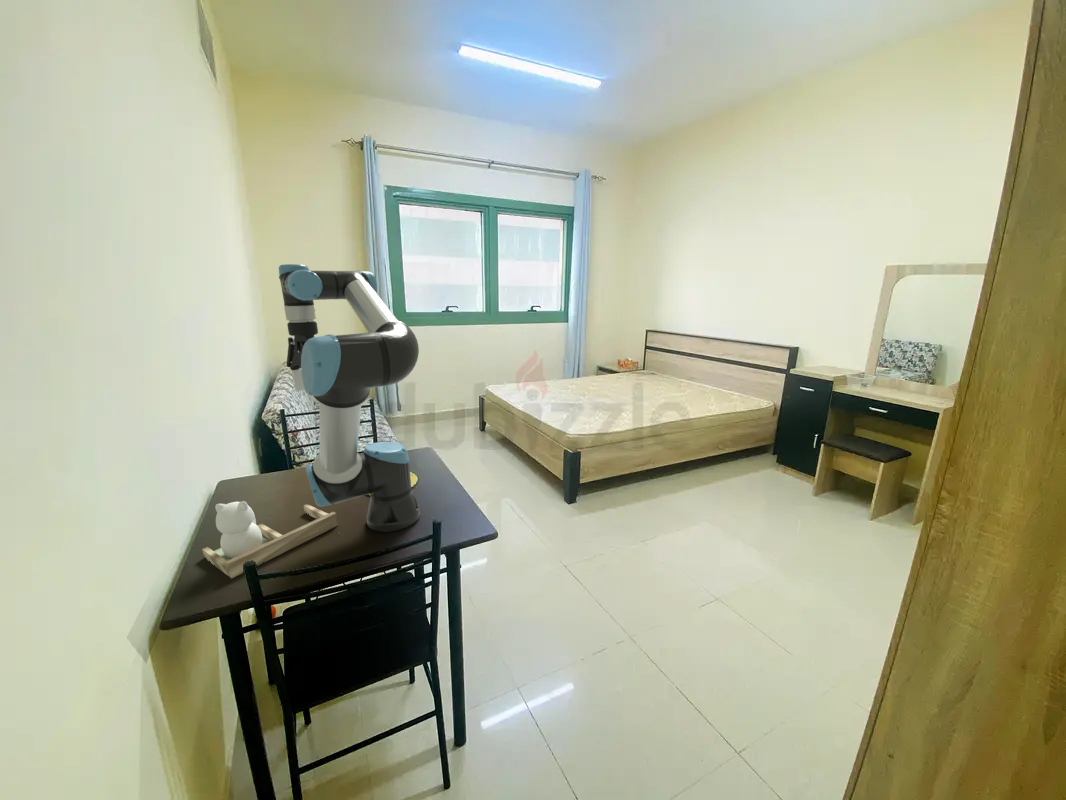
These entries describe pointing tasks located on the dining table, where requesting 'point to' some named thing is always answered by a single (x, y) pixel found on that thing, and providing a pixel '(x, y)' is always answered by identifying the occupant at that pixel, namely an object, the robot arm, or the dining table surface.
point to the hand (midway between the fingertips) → (312, 393)
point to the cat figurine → (237, 528)
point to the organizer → (273, 543)
